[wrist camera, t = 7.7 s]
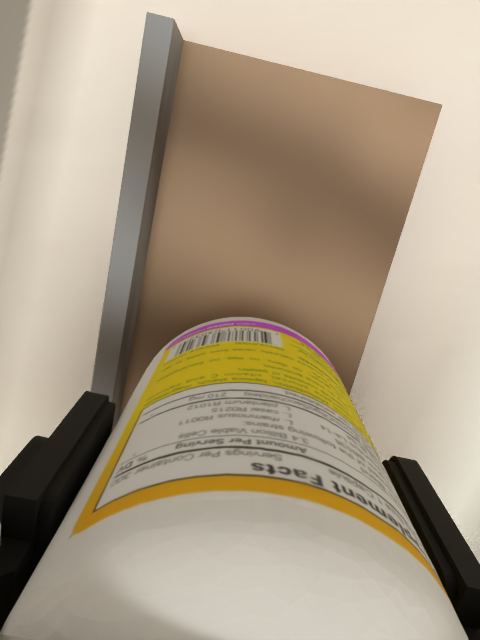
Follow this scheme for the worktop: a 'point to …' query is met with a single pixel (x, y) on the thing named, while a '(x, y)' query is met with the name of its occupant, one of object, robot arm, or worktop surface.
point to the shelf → (253, 204)
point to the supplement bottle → (236, 511)
